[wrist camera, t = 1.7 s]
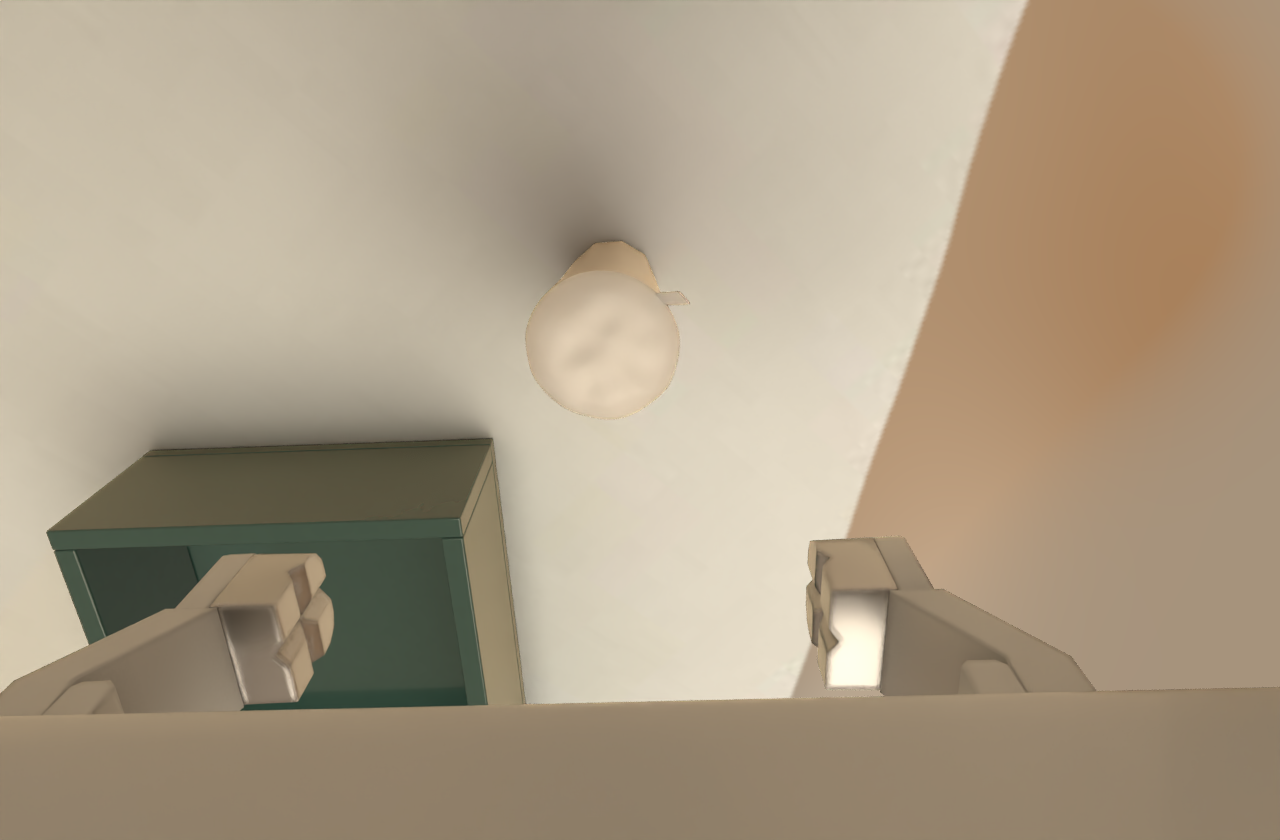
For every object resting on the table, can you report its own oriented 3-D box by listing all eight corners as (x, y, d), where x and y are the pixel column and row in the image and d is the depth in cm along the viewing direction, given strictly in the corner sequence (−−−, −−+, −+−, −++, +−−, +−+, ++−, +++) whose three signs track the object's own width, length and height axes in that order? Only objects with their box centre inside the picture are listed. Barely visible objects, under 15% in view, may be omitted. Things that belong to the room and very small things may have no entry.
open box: (149, 450, 35) (44, 531, 29) (493, 438, 34) (460, 517, 28) (250, 777, 42) (183, 897, 36) (534, 770, 42) (515, 890, 36)
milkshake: (712, 274, 32) (739, 359, 22) (608, 360, 33) (593, 474, 24) (634, 181, 30) (629, 232, 21) (529, 275, 32) (481, 361, 23)
